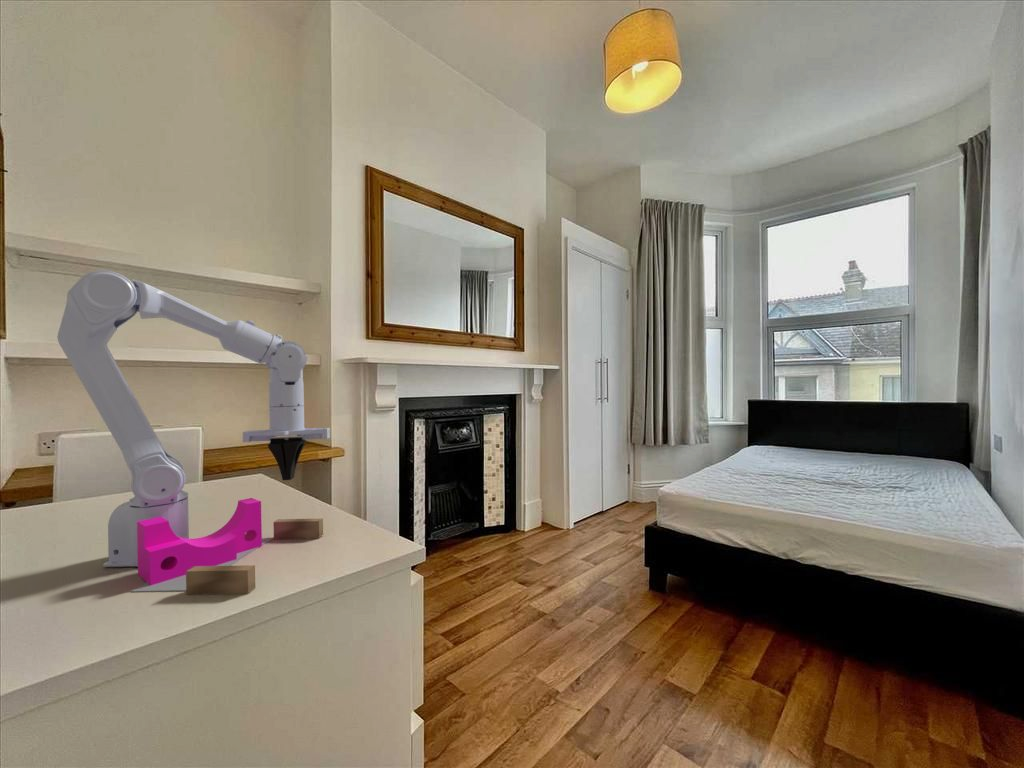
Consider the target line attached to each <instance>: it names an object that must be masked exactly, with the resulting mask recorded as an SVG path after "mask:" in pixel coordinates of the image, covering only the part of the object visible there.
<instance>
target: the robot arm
mask: <svg viewBox="0 0 1024 768" xmlns="http://www.w3.org/2000/svg"><path fill="white" fill-rule="evenodd" d="M138 312H139V316H140V319H143V320H146V319H159V318H160V319H161V318H162V319H163V318H164V319H167V320H169V321H172V322H174V323H177V324H180V325H182V326H184V327H187V328H190V329H193V330H195V331H197V332H201V333H203V334H205V335H208V336H212V337H214V338H217V339H218V340H219V343H220V345H221V347H222V348H223V349H224V350H225V351H228V352H230V353H233V354H235V355H238V356H241V357H243V358H245V359H247V360H250V361H252V362H255V363H257V364H260V365H263V364H265V365H266V366H267V368H268V369H269V381H268V393H269V394H268V397H269V398H268V402H269V403H268V405H269V407H268V408H269V411H268V415H269V429H256V430H254V429H253V430H245V431H242V443H250V442H269V443H268V444H267V446H268V447H267V448H268V450H269V452H271V454H272V456H273V457H274V459H275V461H276V463H277V465H278V467H279V471H280V474H281V478H282V481H291V480H292V479H294V478H295V473H296V468H297V464H298V462H299V458H300V456H301V453H302V451H303V450H304V447H305V446H306V443H307V440H319V439H320V440H328V439H330V438H331V428H330V427H305V396H304V395H305V393H304V391H305V390H304V389H305V387H304V377H303V376H304V373H303V371H304V368H305V366H306V364H307V363H308V355H307V354H306V352H305V350H304V348H303V347H302V346H301V345H300V344H298V343H297V342H294V341H289V340H288V341H286V340H285V341H283V335H280V334H278V333H277V334H276V335H275V334H272V333H269V332H268V331H265V330H263V329H261V328H259V327H256V322H254V321H252V320H250V319H248V320H247V321H246V322H245V321H243V320H241V319H237V320H233V321H226V320H224V319H222V318H219V317H218V316H216V315H214V314H211V313H209V312H208V311H205V310H203V309H201V308H199V307H198V306H194V305H192V304H191V303H188V302H186V301H185V300H182V299H180V298H178V297H176V296H174V295H172V294H170V293H169V292H168V293H167V292H166V291H163V290H161V289H159V288H157V287H154V286H152V285H150V284H148V283H145V282H142V281H139V280H136V279H132V281H131V280H130V279H129V278H127V277H126V276H125V275H122V274H121V273H118V272H115V271H113V270H105V269H101V270H94V271H90V272H87V273H85V274H84V275H83V276H82V277H80V278H79V279H78V280H77V282H76V283H74V284H73V286H72V287H71V288H70V289H68V291H67V293H66V303H65V308H64V312H63V315H62V318H61V322H60V325H59V329H58V332H57V336H56V338H57V341H58V344H59V346H60V348H61V349H62V351H63V353H64V354H65V357H66V358H67V361H68V362H69V363H70V365H71V367H72V368H73V371H74V372H75V373H76V376H77V377H78V379H79V381H80V382H81V384H82V386H83V387H84V389H85V391H86V393H87V394H88V396H89V398H90V400H91V401H92V403H93V404H94V406H95V408H96V410H97V412H98V413H99V415H100V417H101V418H102V420H103V422H104V424H105V426H106V427H107V429H108V430H109V432H110V433H111V436H112V438H113V439H114V440H115V443H116V444H117V446H118V447H119V449H120V451H121V453H122V456H123V458H124V461H125V463H126V466H127V467H128V469H129V471H130V474H131V484H130V489H131V492H132V493H133V495H134V497H132V498H130V499H129V501H126V502H123V503H121V504H119V505H118V506H116V507H115V509H114V510H113V511H112V512H111V514H110V516H109V518H108V523H107V542H108V544H107V547H108V549H107V550H108V551H107V552H108V554H107V555H108V561H106V562H104V563H103V565H102V567H104V568H107V567H110V568H112V567H113V568H114V567H116V568H117V567H138V549H137V521H142V520H147V519H152V518H157V517H162V518H164V519H166V520H168V521H169V525H170V527H171V529H172V531H173V532H174V534H175V535H176V536H178V537H181V538H186V539H190V533H189V532H190V531H189V529H190V526H189V525H190V523H189V521H190V519H189V518H190V517H189V493H188V492H187V491H185V490H184V487H185V485H186V480H187V479H186V473H185V472H184V466H183V464H182V462H180V460H178V459H177V458H176V457H174V456H173V455H171V454H169V453H168V452H167V450H166V449H165V447H164V445H163V443H162V442H161V440H160V439H159V437H158V436H157V433H156V431H155V430H154V428H153V426H152V425H151V423H150V421H149V419H148V417H147V416H146V413H145V412H144V410H143V408H142V406H141V405H140V403H139V401H138V400H137V398H136V395H135V394H134V392H133V390H132V389H131V387H130V385H129V383H128V381H127V379H126V378H125V375H124V374H123V372H122V370H121V369H120V366H119V365H118V363H117V361H116V360H115V358H114V356H113V354H112V352H111V350H110V348H109V347H108V343H109V342H110V341H111V339H112V337H113V335H114V334H115V333H116V331H117V330H118V328H119V327H120V326H122V325H123V324H126V322H128V321H129V320H131V319H132V318H134V317H135V316H136V314H137V313H138Z"/></svg>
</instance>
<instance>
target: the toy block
mask: <svg viewBox="0 0 1024 768" xmlns="http://www.w3.org/2000/svg"><path fill="white" fill-rule="evenodd" d="M262 522H263V521H262V501H261V500H259V499H255V498H253V497H250V498H245V499H240V500H237V505H236V508H235V511H234V513H233V514H232V516H231V518H230V519H229V520H228V522H227V523H225V524H224V525H223V526H222V527H220V528H219V529H218V530H217V531H215V532H213V533H211V534H208V535H205V536H201V537H196V538H189V539H186V538H181V537H178V536H176V535H175V534H174V532H173V531H172V529H171V527H170V525H169V521H168V520H166V519H164V518H162V517H157V518H152V519H147V520H142V521H137V549H138V566H137V575H138V576H140V578H142V579H143V580H144V581H145V583H148V584H149V585H150V586H151V585H154V584H157V583H161V582H164V581H167V580H170V579H174V578H177V577H180V576H183V575H186V571H187V570H189V569H191V568H193V567H194V566H216V565H219V564H223V563H226V562H229V561H232V560H236V559H237V553H240V552H244V551H247V550H250V549H254V548H257V547H259V548H261V547H262V538H263V536H262V535H263V534H262V531H263V530H262V528H263V527H262V526H263V525H262Z"/></svg>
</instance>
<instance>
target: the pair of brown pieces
mask: <svg viewBox="0 0 1024 768" xmlns="http://www.w3.org/2000/svg"><path fill="white" fill-rule="evenodd" d="M322 535H323V536H324V518H321V517H320V518H282V519H281V518H278V519H276V520H274V521H273V538H274V539H273V540H294V539H296V540H297V539H298V538H311V539H321V538H322V537H323V536H322ZM321 536H322V537H321ZM255 589H256V565H254V564H253V565H252V564H251V565H249V564H247V565H231V566H194V567H193V568H191V569H189V570H187V571H186V591H185V592H186V593H185V594H186V595H189V596H190V595H193V596H194V595H241V594H242V595H244V594H245V595H247V594H250V593H251V592H253V590H255Z"/></svg>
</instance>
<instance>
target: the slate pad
mask: <svg viewBox="0 0 1024 768" xmlns="http://www.w3.org/2000/svg"><path fill="white" fill-rule="evenodd" d="M273 538H274V537H262V546H264V545H266V544H267V543H269V542H271V540H274V539H273ZM262 546H261V547H262ZM259 548H260V547H257V548H254V549H250V550H247V551H244V552H240V553H237V559H236V560H232V561H229V562H226V563H223V564H219V565H216V566H233V565H234V564H235V563H238V562H239V561H241V560H242V559H243V558H245V557H247V556H248V555H251V553H253V552H255V551H256V550H258V549H259ZM157 592H158V593H159V592H160V593H163V592H166V593H167V592H169V593H170V592H171V593H172V592H177V593H178V592H186V575H183V576H180V577H177V578H174V579H170V580H167V581H164V582H161V583H157V584H154V585H151V586H150V585H149V584H148V583H147V582H145V583H144V584H142V585H140V586H137V587H136V588H134V589H132V590H131V592H130V593H157Z"/></svg>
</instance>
